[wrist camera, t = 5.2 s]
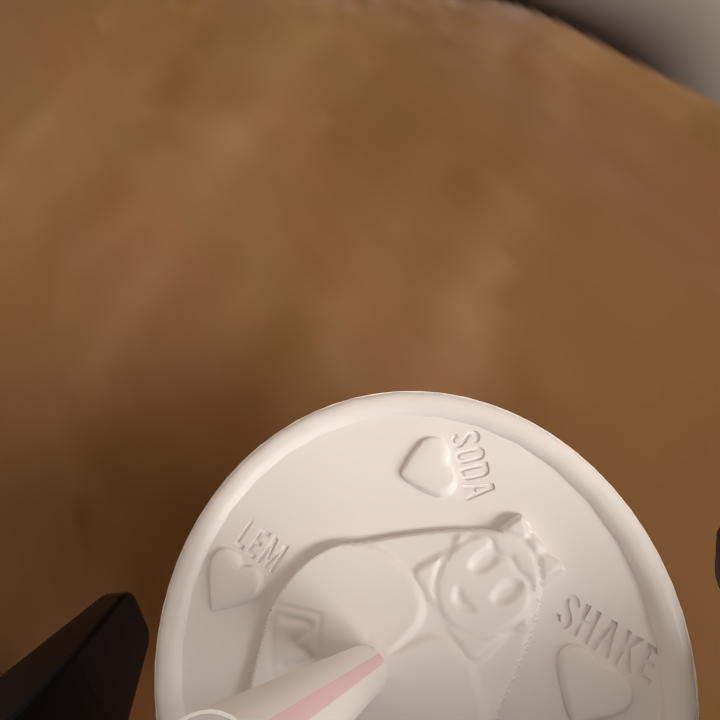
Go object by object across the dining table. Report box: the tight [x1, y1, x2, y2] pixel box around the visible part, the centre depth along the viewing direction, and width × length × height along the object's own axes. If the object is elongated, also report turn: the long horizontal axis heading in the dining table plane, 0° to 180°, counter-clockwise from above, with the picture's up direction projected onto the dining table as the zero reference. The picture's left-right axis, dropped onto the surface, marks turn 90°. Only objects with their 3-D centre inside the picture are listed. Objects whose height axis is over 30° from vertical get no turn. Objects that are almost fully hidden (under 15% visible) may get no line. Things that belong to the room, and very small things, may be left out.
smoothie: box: [154, 391, 699, 720], centre depth 9 cm, size 6×6×14 cm
